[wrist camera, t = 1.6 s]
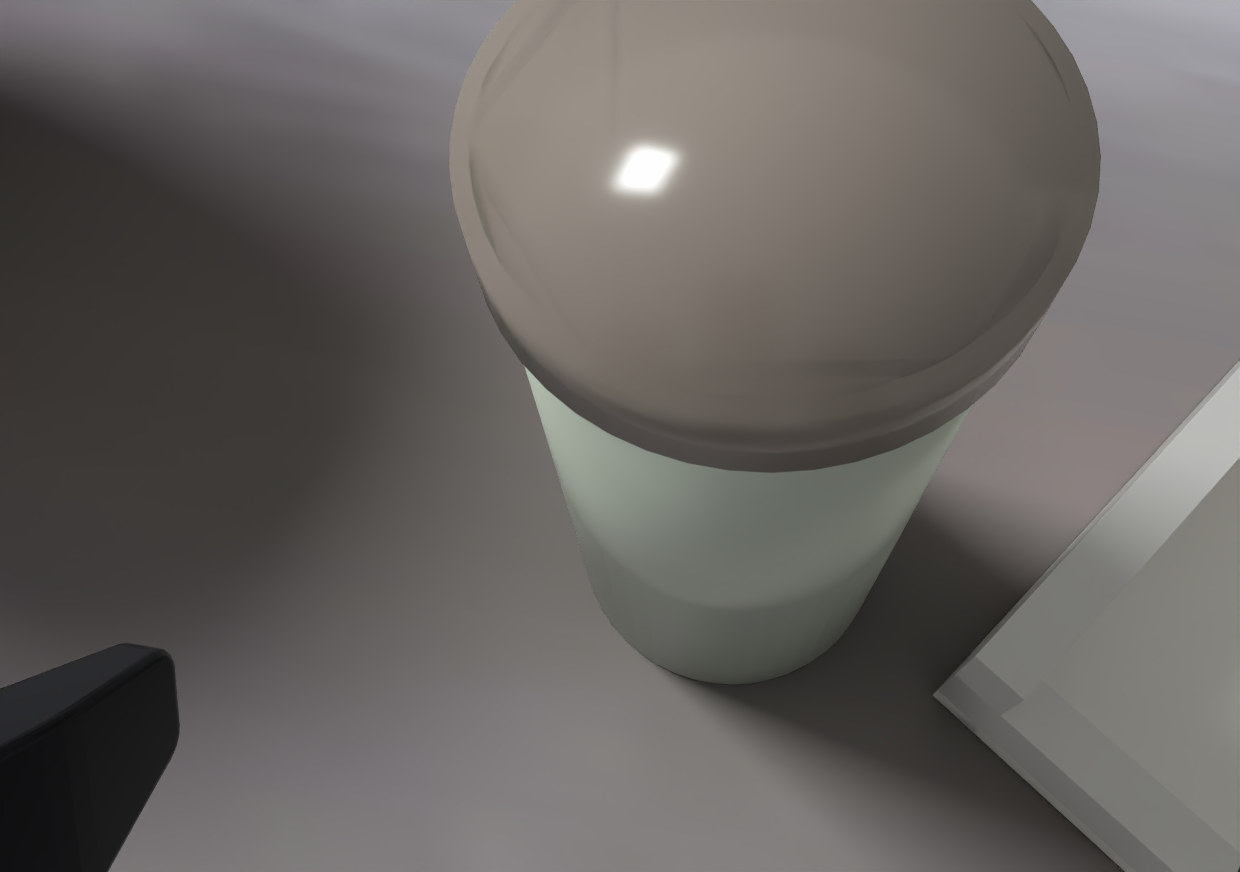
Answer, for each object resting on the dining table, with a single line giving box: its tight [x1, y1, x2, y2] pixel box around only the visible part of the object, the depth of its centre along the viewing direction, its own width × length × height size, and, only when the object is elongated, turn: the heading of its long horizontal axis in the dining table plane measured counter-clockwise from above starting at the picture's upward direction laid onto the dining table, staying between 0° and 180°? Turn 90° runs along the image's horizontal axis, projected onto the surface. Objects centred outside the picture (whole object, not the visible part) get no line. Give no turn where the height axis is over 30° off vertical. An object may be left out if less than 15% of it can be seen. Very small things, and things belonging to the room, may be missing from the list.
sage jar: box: [449, 0, 1101, 684], centre depth 17 cm, size 6×6×13 cm
